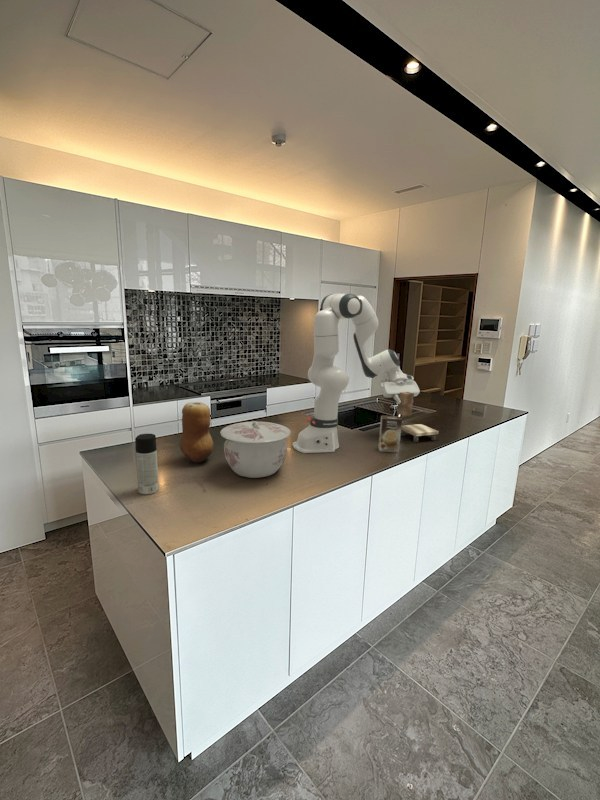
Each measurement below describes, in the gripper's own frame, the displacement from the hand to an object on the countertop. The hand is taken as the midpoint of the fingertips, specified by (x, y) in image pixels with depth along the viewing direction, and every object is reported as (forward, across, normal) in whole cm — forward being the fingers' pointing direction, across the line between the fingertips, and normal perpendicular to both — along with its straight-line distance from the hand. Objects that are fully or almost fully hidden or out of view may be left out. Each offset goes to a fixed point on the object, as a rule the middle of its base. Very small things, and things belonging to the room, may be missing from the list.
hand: (406, 403), depth 191 cm
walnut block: (+4, 0, +5) cm, 6 cm away
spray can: (+30, -120, +1) cm, 123 cm away
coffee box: (+20, -14, +9) cm, 26 cm away
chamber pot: (+25, -80, +5) cm, 84 cm away
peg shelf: (+12, +12, +17) cm, 24 cm away
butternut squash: (+13, -101, +18) cm, 103 cm away
